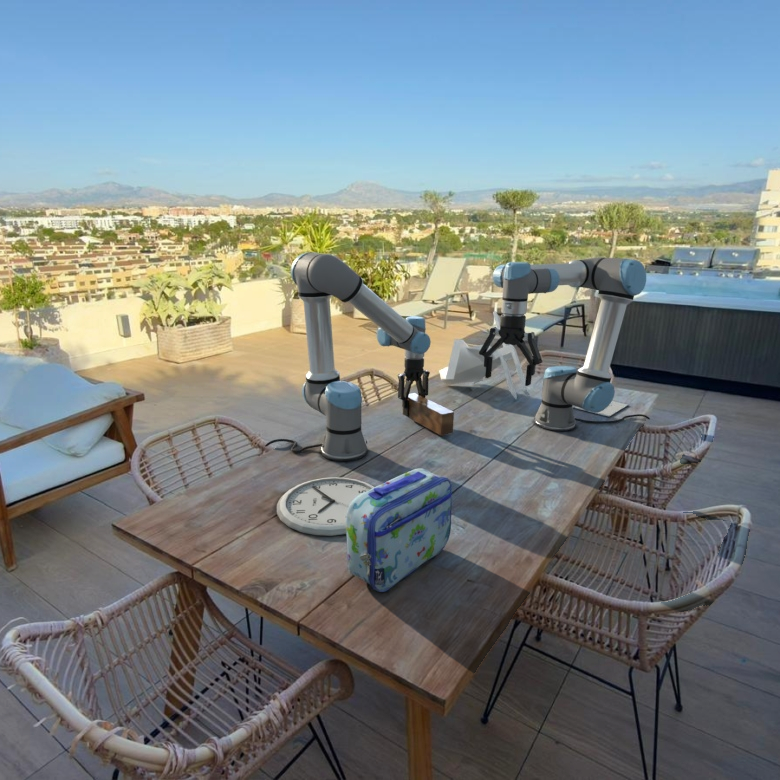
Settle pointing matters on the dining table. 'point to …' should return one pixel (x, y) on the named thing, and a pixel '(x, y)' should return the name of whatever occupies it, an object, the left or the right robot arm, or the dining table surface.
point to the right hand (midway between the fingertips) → (507, 381)
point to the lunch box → (398, 527)
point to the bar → (430, 414)
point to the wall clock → (320, 505)
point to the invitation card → (609, 408)
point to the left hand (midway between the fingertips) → (412, 414)
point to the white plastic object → (480, 364)
